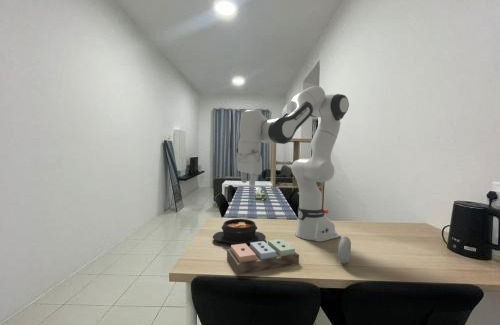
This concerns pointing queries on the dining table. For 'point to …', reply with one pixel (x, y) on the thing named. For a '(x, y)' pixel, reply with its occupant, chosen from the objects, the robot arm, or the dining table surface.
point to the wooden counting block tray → (261, 263)
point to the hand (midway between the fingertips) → (247, 184)
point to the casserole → (239, 232)
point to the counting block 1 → (243, 253)
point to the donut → (344, 250)
